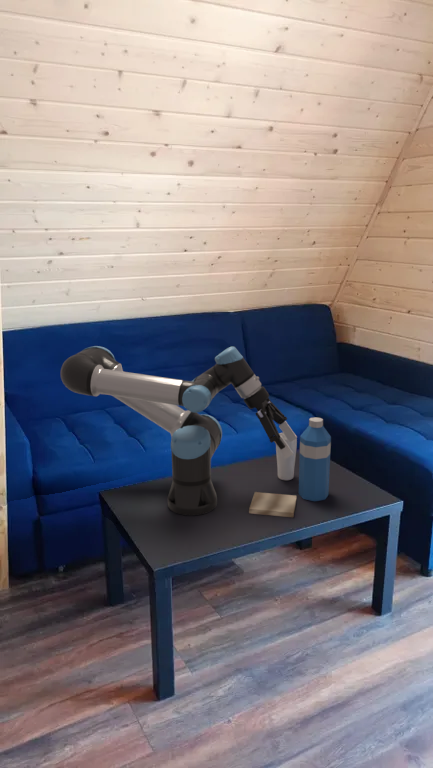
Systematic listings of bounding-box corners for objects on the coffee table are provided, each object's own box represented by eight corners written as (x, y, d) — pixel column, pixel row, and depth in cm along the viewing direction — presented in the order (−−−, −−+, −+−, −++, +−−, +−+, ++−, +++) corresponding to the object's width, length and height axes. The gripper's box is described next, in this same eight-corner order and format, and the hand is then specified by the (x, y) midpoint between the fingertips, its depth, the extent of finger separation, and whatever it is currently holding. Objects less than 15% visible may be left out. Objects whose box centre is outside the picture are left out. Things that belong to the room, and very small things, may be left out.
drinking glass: (297, 474, 198) (298, 433, 194) (293, 483, 192) (294, 440, 187) (278, 472, 200) (278, 431, 196) (273, 480, 194) (273, 438, 190)
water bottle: (327, 488, 188) (330, 414, 181) (329, 501, 179) (333, 425, 172) (298, 487, 189) (300, 414, 182) (299, 500, 180) (301, 424, 173)
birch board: (249, 513, 173) (249, 508, 172) (254, 496, 183) (254, 492, 183) (293, 517, 170) (293, 512, 169) (296, 500, 180) (296, 495, 180)
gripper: (256, 397, 166) (298, 457, 168) (267, 375, 189) (304, 428, 192) (235, 411, 168) (277, 469, 170) (249, 387, 192) (285, 439, 194)
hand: (291, 447), depth 181 cm, fingers open, 13 cm apart
